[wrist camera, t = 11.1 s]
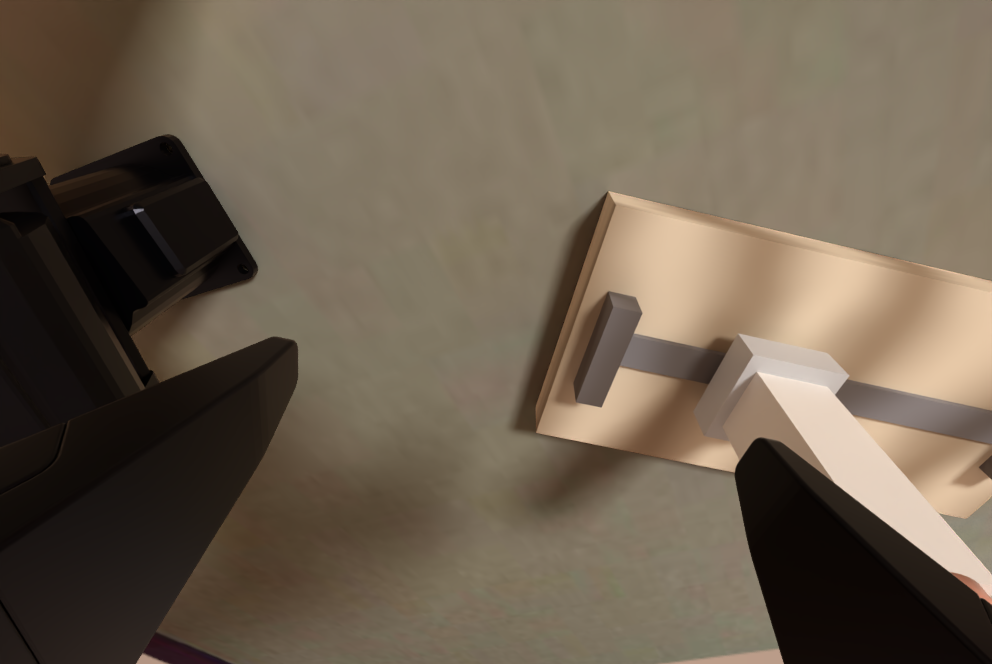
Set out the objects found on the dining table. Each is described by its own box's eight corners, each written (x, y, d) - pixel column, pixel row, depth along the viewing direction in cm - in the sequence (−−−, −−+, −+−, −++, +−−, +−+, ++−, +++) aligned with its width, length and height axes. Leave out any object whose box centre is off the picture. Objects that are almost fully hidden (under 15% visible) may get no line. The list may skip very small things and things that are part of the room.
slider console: (535, 407, 26) (536, 453, 23) (608, 191, 20) (622, 216, 17) (938, 489, 27) (987, 541, 24) (1125, 312, 21) (1220, 355, 18)
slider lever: (693, 411, 22) (812, 676, 13) (737, 333, 20) (922, 587, 11) (774, 428, 22) (948, 699, 13) (827, 352, 20) (1084, 617, 11)
